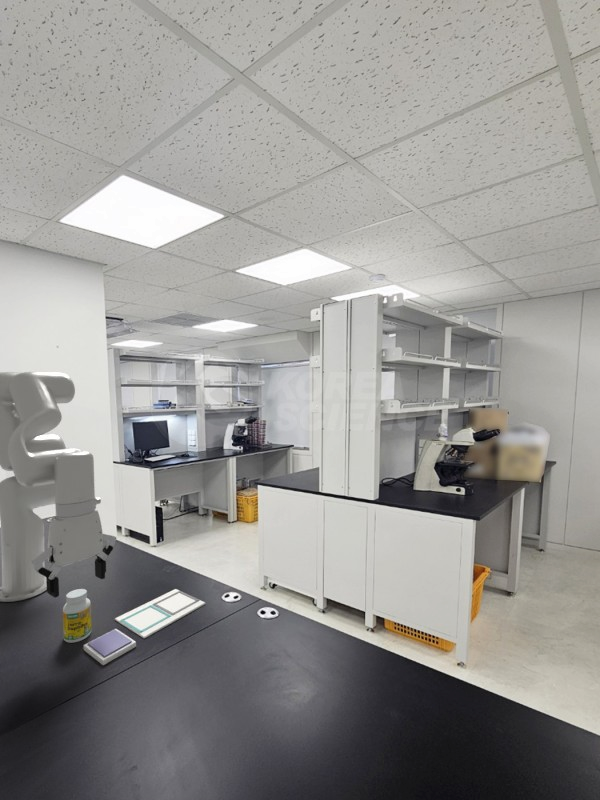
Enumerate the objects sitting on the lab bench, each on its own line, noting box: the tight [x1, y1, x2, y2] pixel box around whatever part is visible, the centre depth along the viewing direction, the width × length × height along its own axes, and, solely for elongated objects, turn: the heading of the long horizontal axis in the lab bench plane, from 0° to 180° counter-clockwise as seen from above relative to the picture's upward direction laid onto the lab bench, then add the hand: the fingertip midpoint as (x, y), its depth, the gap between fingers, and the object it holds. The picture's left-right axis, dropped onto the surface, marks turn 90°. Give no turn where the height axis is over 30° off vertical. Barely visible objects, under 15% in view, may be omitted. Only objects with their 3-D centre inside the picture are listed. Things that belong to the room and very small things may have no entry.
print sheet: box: [114, 588, 206, 639], centre depth 95 cm, size 12×17×1 cm
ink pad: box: [83, 628, 137, 666], centre depth 82 cm, size 8×7×1 cm
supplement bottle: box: [62, 588, 92, 644], centre depth 86 cm, size 5×5×10 cm
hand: (78, 586), depth 85 cm, fingers open, 9 cm apart
